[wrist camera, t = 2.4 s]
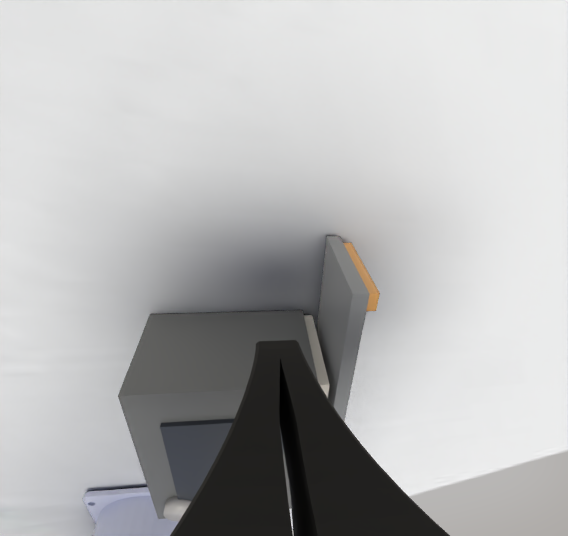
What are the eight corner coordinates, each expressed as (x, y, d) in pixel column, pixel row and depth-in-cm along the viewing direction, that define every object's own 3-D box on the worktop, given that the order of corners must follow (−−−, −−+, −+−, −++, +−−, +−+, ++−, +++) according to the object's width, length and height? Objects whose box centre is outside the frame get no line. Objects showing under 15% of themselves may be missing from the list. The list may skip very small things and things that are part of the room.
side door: (321, 427, 23) (336, 501, 19) (304, 428, 23) (315, 503, 19) (350, 236, 16) (383, 293, 12) (324, 236, 16) (349, 294, 12)
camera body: (299, 435, 24) (312, 526, 19) (177, 443, 23) (159, 540, 19) (311, 309, 18) (333, 395, 14) (150, 314, 17) (113, 406, 13)
